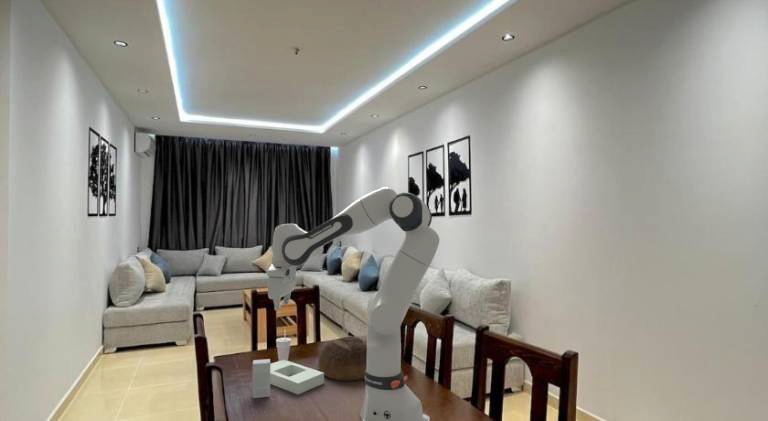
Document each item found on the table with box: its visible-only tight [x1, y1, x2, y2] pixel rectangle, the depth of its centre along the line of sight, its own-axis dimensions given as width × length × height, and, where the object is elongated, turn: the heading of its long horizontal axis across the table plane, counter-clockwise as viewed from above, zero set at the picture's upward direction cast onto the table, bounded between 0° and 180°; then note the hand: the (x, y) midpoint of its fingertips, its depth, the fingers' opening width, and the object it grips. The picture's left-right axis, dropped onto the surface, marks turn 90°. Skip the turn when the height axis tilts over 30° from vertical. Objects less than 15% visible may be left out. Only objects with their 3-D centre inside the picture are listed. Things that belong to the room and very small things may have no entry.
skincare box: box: [251, 358, 271, 399], centre depth 154 cm, size 6×4×12 cm
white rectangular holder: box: [270, 359, 325, 395], centre depth 167 cm, size 23×13×4 cm, turn 53°
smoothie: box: [275, 329, 292, 361], centre depth 188 cm, size 6×6×14 cm
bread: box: [318, 336, 367, 382], centre depth 180 cm, size 26×27×13 cm
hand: (281, 307), depth 157 cm, fingers open, 8 cm apart
